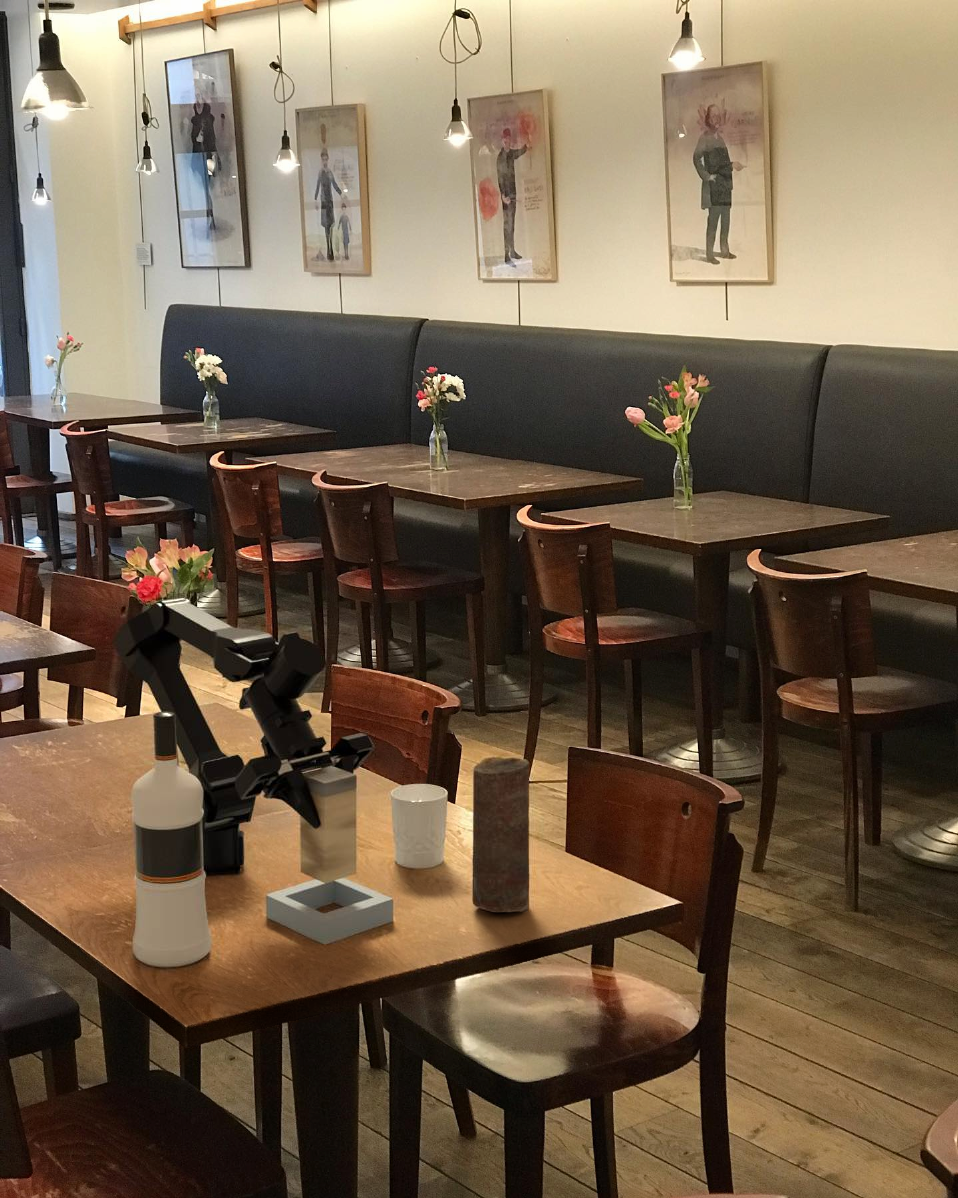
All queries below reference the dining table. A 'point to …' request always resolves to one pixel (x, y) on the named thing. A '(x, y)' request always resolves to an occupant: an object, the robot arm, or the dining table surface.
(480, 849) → the brown textured cylinder
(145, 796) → the vodka
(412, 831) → the white cup
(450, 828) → the dining table surface
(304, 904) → the frame
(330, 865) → the wooden square peg
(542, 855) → the dining table surface
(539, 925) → the dining table surface
